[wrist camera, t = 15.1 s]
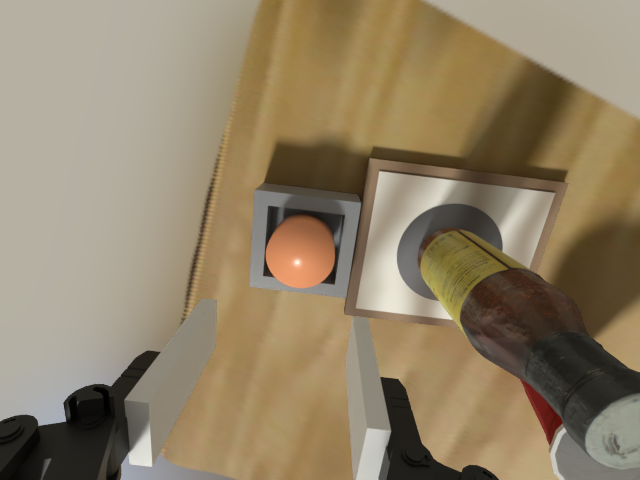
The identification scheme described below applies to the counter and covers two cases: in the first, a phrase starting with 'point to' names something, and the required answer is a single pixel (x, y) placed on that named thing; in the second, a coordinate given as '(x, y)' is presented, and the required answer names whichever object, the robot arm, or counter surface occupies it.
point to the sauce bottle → (537, 341)
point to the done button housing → (327, 205)
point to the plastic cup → (571, 448)
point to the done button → (301, 251)
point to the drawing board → (433, 215)
